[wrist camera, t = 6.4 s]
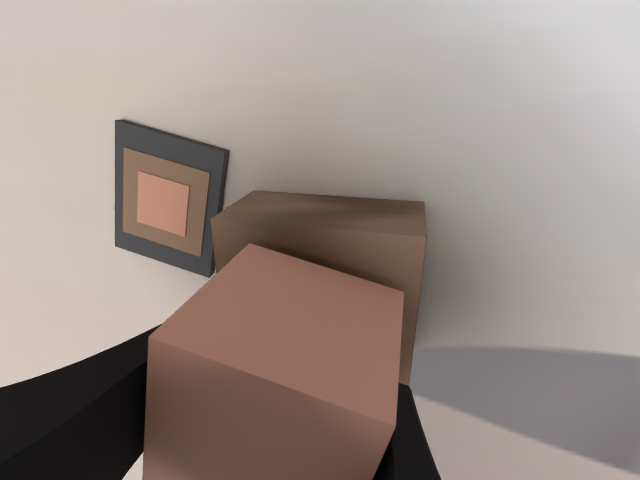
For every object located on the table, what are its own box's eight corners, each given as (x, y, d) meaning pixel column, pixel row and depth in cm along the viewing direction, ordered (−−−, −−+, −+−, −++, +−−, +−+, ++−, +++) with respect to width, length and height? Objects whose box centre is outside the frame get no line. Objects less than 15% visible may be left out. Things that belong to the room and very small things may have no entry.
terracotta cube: (403, 292, 11) (395, 426, 7) (360, 409, 13) (331, 572, 9) (249, 243, 12) (148, 336, 7) (230, 362, 14) (141, 492, 10)
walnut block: (423, 200, 15) (426, 236, 11) (407, 346, 17) (405, 414, 14) (255, 189, 16) (210, 218, 13) (264, 326, 19) (228, 383, 15)
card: (229, 150, 16) (222, 152, 15) (213, 273, 18) (207, 279, 18) (121, 119, 16) (111, 120, 16) (120, 243, 19) (111, 247, 18)
